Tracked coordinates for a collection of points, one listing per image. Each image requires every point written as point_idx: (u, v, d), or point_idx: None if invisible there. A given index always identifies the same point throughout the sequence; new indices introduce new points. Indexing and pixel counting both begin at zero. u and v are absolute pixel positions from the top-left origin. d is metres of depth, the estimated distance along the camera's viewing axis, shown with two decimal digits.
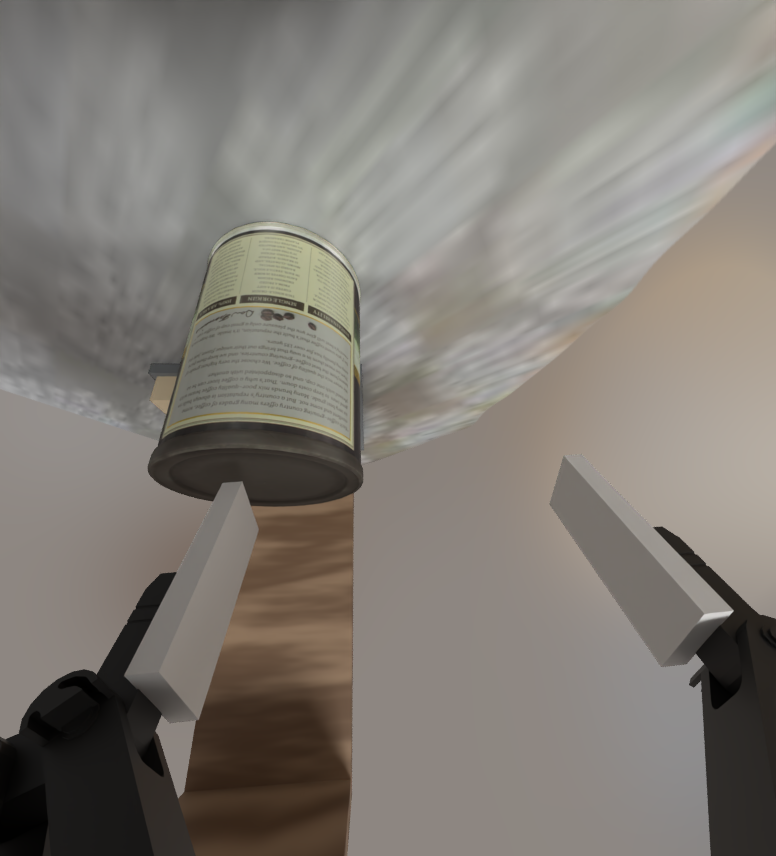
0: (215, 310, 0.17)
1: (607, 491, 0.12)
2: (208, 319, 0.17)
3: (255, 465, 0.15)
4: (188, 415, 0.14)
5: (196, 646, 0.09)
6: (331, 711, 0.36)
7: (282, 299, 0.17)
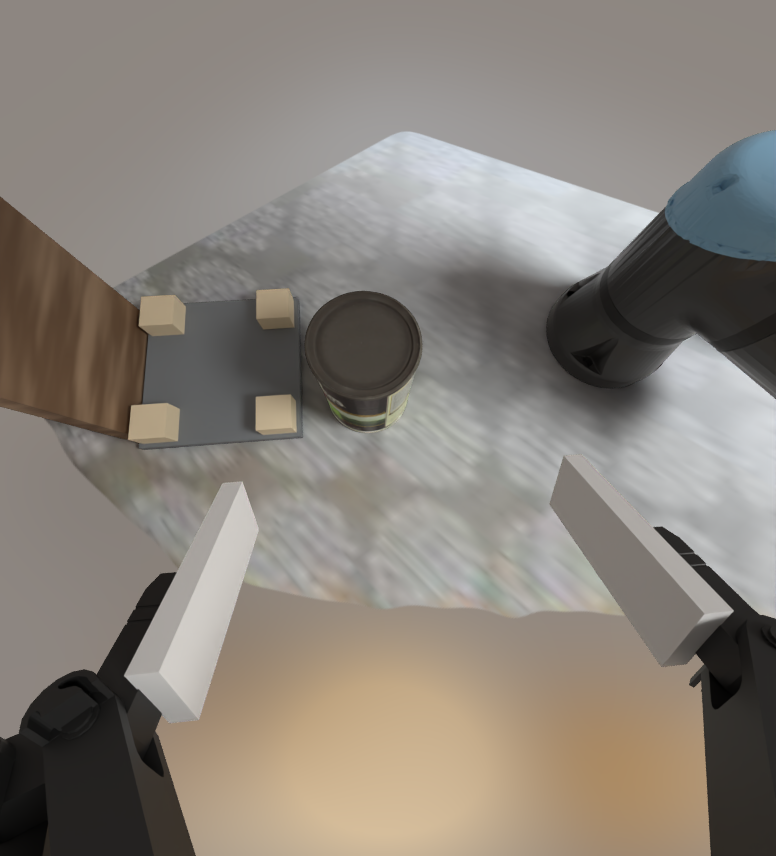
0: None
1: (607, 491, 0.12)
2: None
3: (392, 344, 0.29)
4: None
5: (196, 646, 0.09)
6: None
7: None
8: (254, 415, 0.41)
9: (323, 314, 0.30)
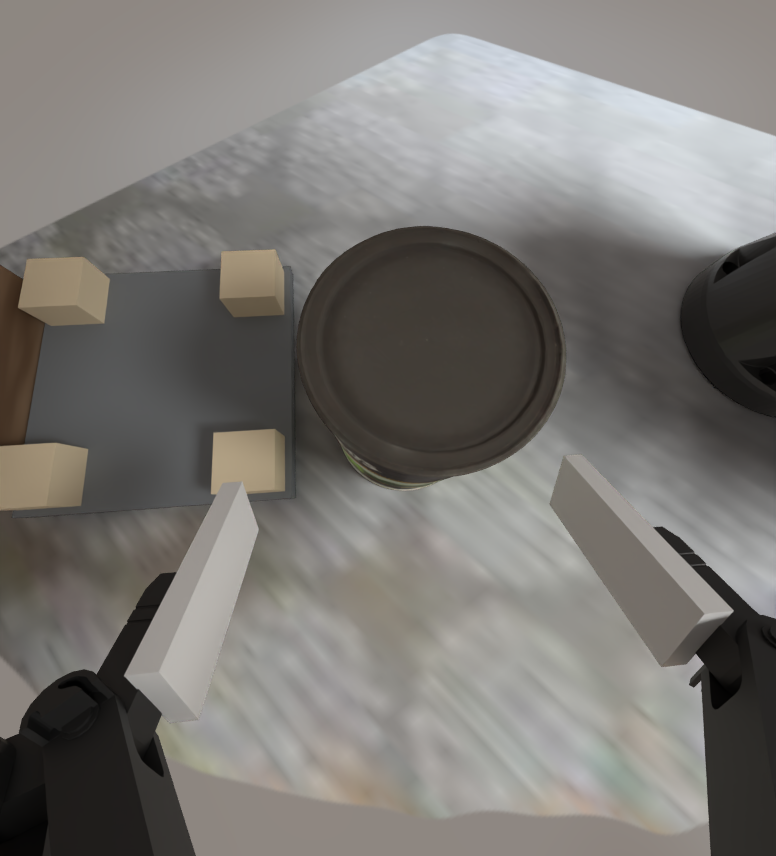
0: None
1: (607, 491, 0.12)
2: None
3: (497, 343, 0.13)
4: None
5: (196, 646, 0.09)
6: None
7: None
8: None
9: (340, 274, 0.13)
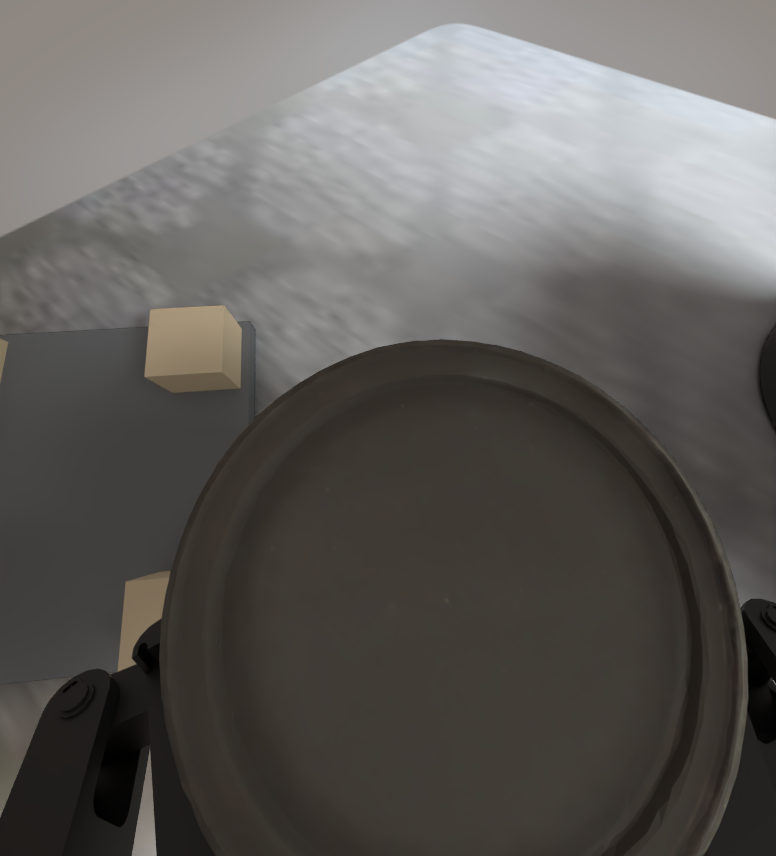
0: None
1: None
2: None
3: (595, 604, 0.06)
4: None
5: None
6: None
7: None
8: None
9: (265, 452, 0.06)
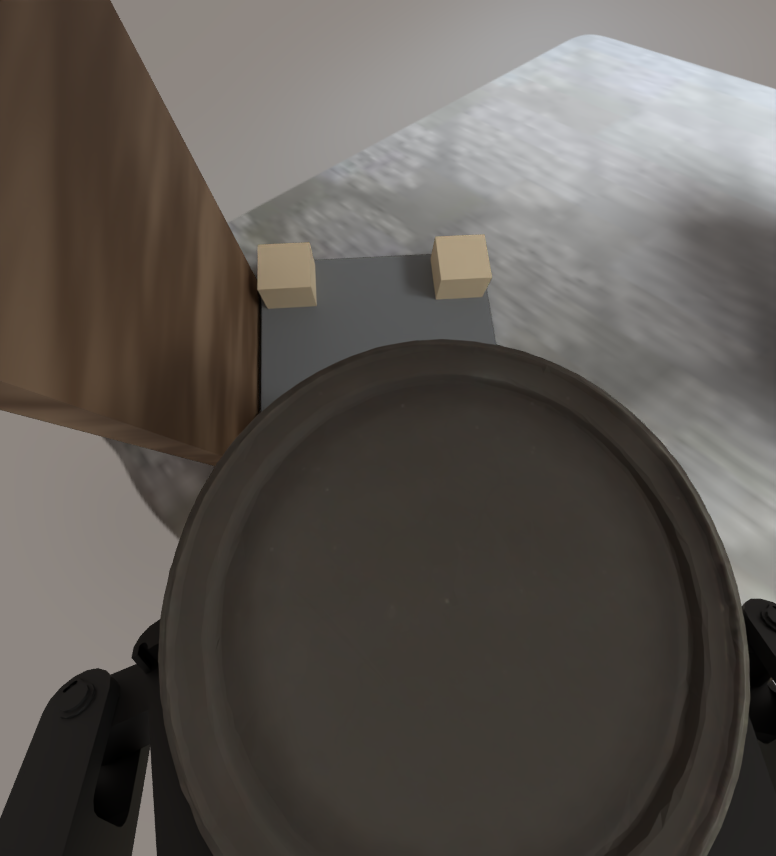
0: None
1: None
2: None
3: (596, 604, 0.06)
4: None
5: None
6: None
7: None
8: None
9: (265, 452, 0.06)
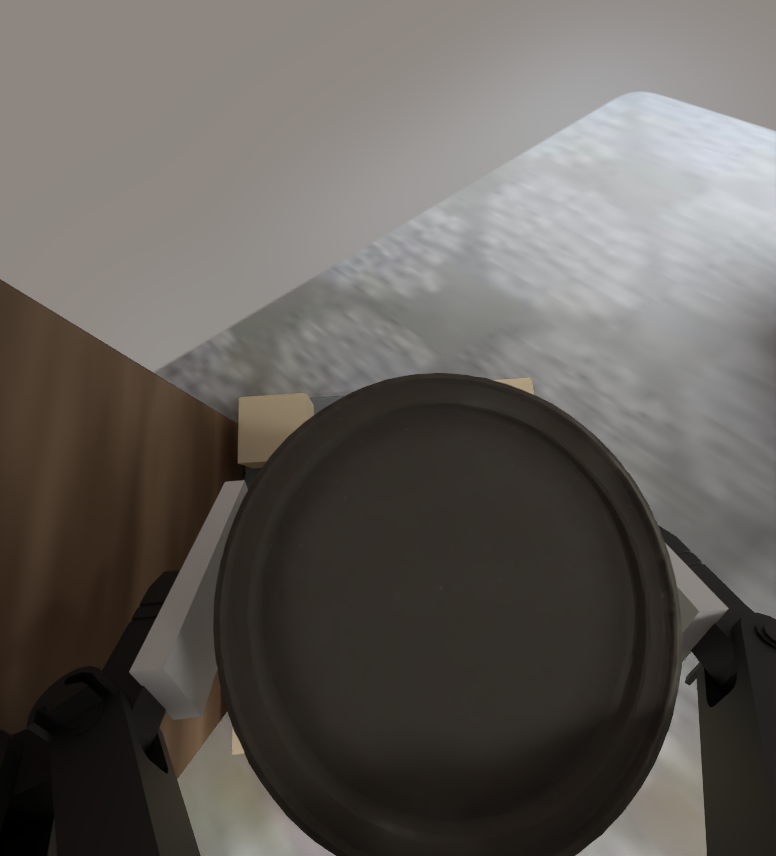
0: None
1: None
2: None
3: (561, 591, 0.08)
4: None
5: (200, 643, 0.09)
6: None
7: None
8: None
9: (294, 467, 0.08)
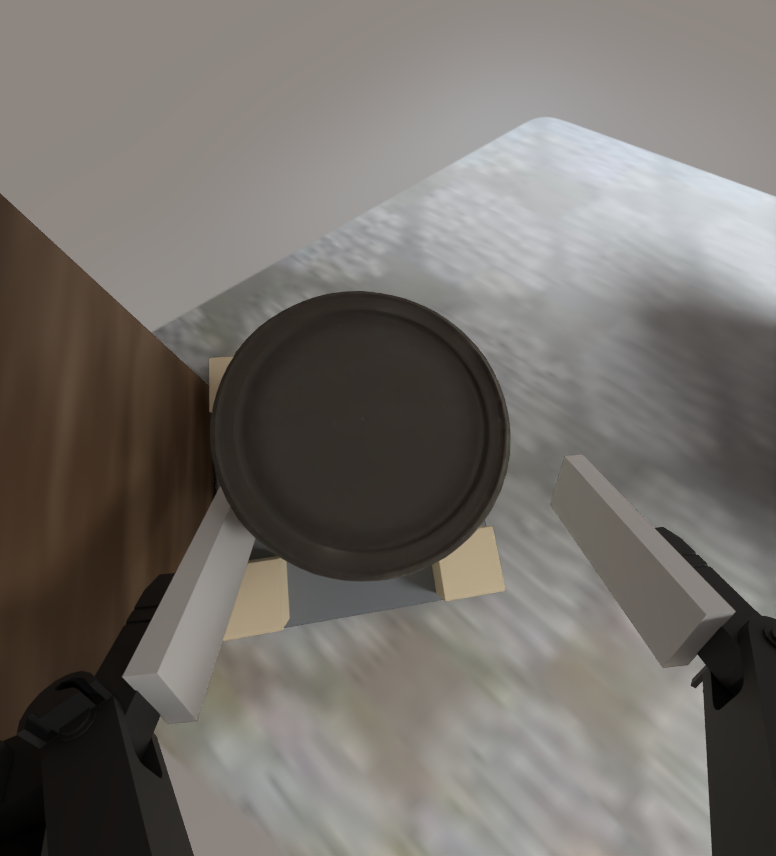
0: None
1: (608, 491, 0.12)
2: None
3: (438, 420, 0.12)
4: None
5: (195, 647, 0.09)
6: None
7: None
8: None
9: (263, 346, 0.12)
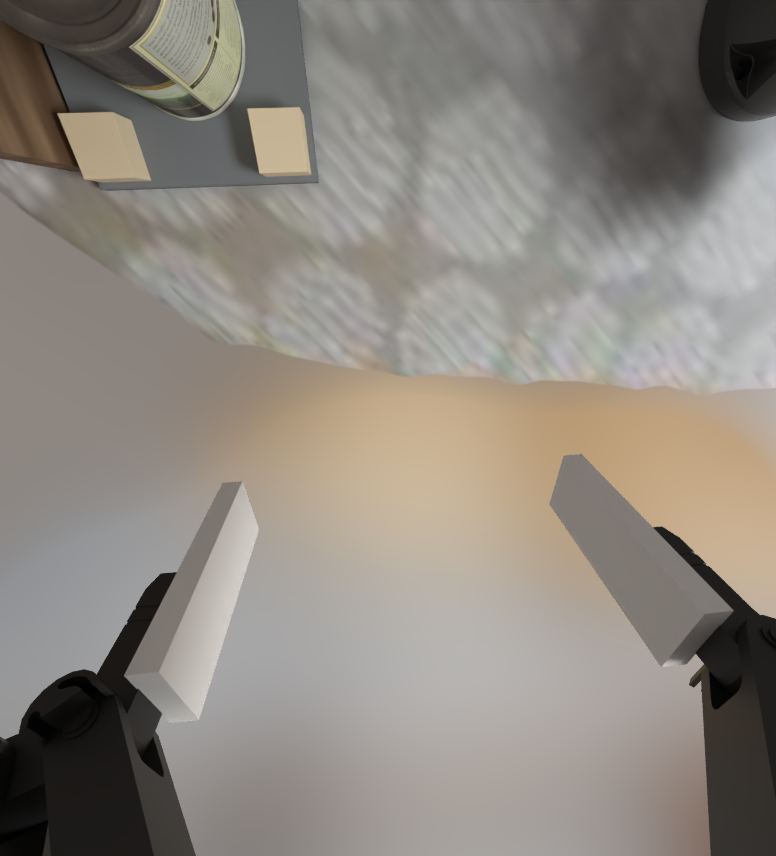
0: None
1: (607, 491, 0.12)
2: None
3: None
4: None
5: (196, 646, 0.09)
6: None
7: (218, 14, 0.21)
8: (247, 140, 0.29)
9: None
